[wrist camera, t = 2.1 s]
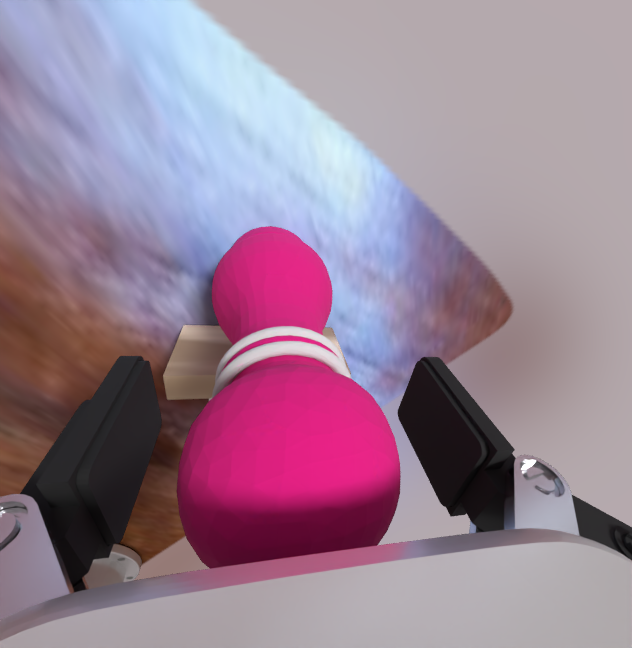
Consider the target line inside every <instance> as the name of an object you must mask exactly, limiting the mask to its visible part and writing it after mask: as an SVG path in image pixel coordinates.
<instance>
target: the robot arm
mask: <svg viewBox="0 0 632 648" xmlns="http://www.w3.org/2000/svg"><path fill="white" fill-rule="evenodd" d="M398 417H399V420H400V422H401V424H402V426H403V428H404V430H405V432H406V434H407V436H408V438H409V440H410V442H411V444H412V446H413V448H414V450H415V452H416V455H417V457H418V459H419V461H420V463H421V465H422V467H423V469H424V471H425V473H426V475H427V477H428V478H429V481H430V483H431V485H432V487H433V489H434V491H435V493H436V495H437V497H438V499H439V501H440V503H441V504H442V505H443V506H445V507H446V508H447V510H448V512H449V514H450V516H458V515H465V514H466V513H467V514H468V516H469V518H470V520H471V521H470V530H469V534H462V535H455V536H447V537H439V538H432V539H423V540H416V541H408V542H400V543H393V544H386V545H379V546H370V547H363V548H356V549H348V550H341V551H334V552H326V553H319V554H312V555H304V556H297V557H290V558H282V559H275V560H268V561H261V562H254V563H247V564H240V565H233V566H226V567H219V568H212V569H205V570H197V571H190V572H185V573H178V574H171V575H165V576H159V577H153V578H146V579H140V580H134V579H135V578H136V577H137V576H138V574H139V571H140V567H141V562H142V561H141V558H140V556H139V555H138V554H137V553H136V552H135V551H133V550H132V549H130V548H127V547H125V546H122V545H119V544H118V543H120V541H121V540H122V538H123V535H124V533H125V530H126V527H127V524H128V521H129V518H130V515H131V512H132V510H133V507H134V504H135V501H136V498H137V495H138V492H139V489H140V486H141V484H142V481H143V478H144V475H145V472H146V469H147V466H148V463H149V461H150V458H151V455H152V452H153V449H154V446H155V443H156V440H157V437H158V435H159V432H160V428H161V414H160V409H159V405H158V400H157V395H156V390H155V386H154V381H153V376H152V371H151V367H150V363H149V361H144V360H143V358H142V357H141V356H121V357H119V358H118V359H117V361H116V362H115V364H114V365H113V367H112V368H111V370H110V371H109V373H108V375H107V376H106V378H105V379H104V381H103V382H102V384H101V385H100V387H99V388H98V390H97V391H96V393H95V394H94V396H93V398H92V399H91V400H86V401H84V402H83V403H82V404H81V405H80V406H79V408H78V409H77V411H76V412H75V414H74V415H73V417H72V418H71V419H70V421H69V422H68V424H67V425H66V427H65V428H64V430H63V431H62V433H61V434H60V436H59V437H58V439H57V440H56V442H55V443H54V445H53V446H52V447H51V449H50V450H49V452H48V453H47V455H46V456H45V458H44V459H43V461H42V462H41V464H40V465H39V467H38V468H37V470H36V471H35V472H34V474H33V475H32V477H31V478H30V480H29V481H28V483H27V484H26V486H25V487H24V489H23V490H22V492H21V493H20V494H11V495H7V496H3V497H0V648H632V527H630V526H628V525H626V524H625V523H623V522H621V521H619V520H617V519H615V518H614V517H612V516H610V515H608V514H606V513H604V512H602V511H601V510H599V509H597V508H595V507H593V506H592V505H590V504H588V503H586V502H584V501H582V500H581V499H579V498H577V497H575V496H573V495H572V494H571V490H570V487H569V485H568V483H567V482H566V480H565V479H564V477H563V476H562V475H561V474H560V473H559V472H558V471H557V470H556V469H555V468H553V467H552V466H551V465H549V464H548V463H546V462H545V461H543V460H541V459H539V458H536V457H534V456H530V455H520V456H518V457H517V458H515V457H514V456H513V454H512V452H513V451H514V448H513V447H512V446H511V445H510V443H509V442H508V441H507V440H506V438H505V437H504V436H503V435H502V434H501V432H500V431H499V430H498V429H497V428H496V426H495V425H494V424H493V423H492V421H491V420H490V419H489V418H488V417H487V415H486V414H485V413H484V412H483V410H482V409H481V408H480V407H479V406H478V404H477V403H476V402H475V401H474V399H473V398H472V397H471V396H470V394H469V393H468V392H467V391H466V390H465V388H464V387H463V386H462V385H461V383H460V382H459V381H458V380H457V378H456V377H455V376H454V375H453V374H452V372H451V371H450V370H449V369H448V368H447V366H446V365H445V364H444V363H443V361H442V360H441V359H440V358H438V357H423V358H422V359H421V360H420V361H418V362H417V363H416V365H415V368H414V370H413V373H412V376H411V378H410V381H409V383H408V386H407V388H406V391H405V393H404V396H403V399H402V401H401V404H400V406H399V409H398ZM133 580H134V581H133Z"/></svg>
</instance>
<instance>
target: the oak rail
mask: <svg viewBox="0 0 632 648" xmlns="http://www.w3.org/2000/svg"><path fill="white" fill-rule="evenodd" d="M322 332H323V336H325V337H326V338H327V339H329V340H330V341H331V342H332V343H333V344H334V345H335V346H336V347H337V348H338V350H339V351H340V353H341V354H342V356H343V353H342V351H341V348H340V346H339V343H338V341H337V339H336V336H335V334H334V331H333V329H332V328H324V329H323V331H322ZM232 346H233V345H232V343H231V342H230V340H229V339H228V338H227V336H226V335H225V333H224V332H223V330H222V329H221V327H220V326H212V325H184V326H183V328H182V331H181V333H180V335H179V338H178V340H177V343H176V345H175V348H174V350H173V352H172V355H171V357H170V360H169V362H168V365H167V367H166V369H165V372H164V374H163V379H164V385H165V390H166V396H167V400H175V399H208V398H212V393H213V389H214V386H215V377H216V371H217V368H218V365H219V363H220V361H221V359H222V358H223V357H224V355H225V354H226V352H227V351H228V350H229V349H230V348H231V347H232ZM343 358H344V356H343ZM344 361H345V364H346V367H347V369H348V370H349V368H348V365H347V363H346V360H345V358H344ZM349 373H350V370H349ZM350 374H351V373H350Z"/></svg>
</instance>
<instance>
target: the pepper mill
mask: <svg viewBox="0 0 632 648" xmlns="http://www.w3.org/2000/svg"><path fill="white" fill-rule="evenodd" d="M212 304H213V308H214V312H215V315H216V317H217V320H218V323H219V325H220V327H221V329H222V330H223V332H224V333H225V335H226V336H227V338H228V339H229V340H230V342H231V343H232V345H233V346H232V347H231V348H230V349H229V350H228V351H227V352H226V354H225V355H224V357H223V358H222V359H221V361H220V363H219V365H218V368H217V371H216V377H215V386H214V389H213V393H212V399H211V400H210V401H209V402H208V403H207V405H206V406H205V407H204V409H203V410H202V411H201V413H200V414H199V415H198V417H197V418H196V419H195V421H194V422H193V424H192V425H191V427H190V430H189V433H188V436H187V439H186V441H185V444H184V448H183V451H182V455H181V459H180V462H179V471H178V482H177V497H178V505H179V513H180V518H181V522H182V525H183V528H184V531H185V535H186V538H187V540H188V541H189V543H190V544H191V546H192V547H193V549H194V550H195V552H196V554H197V555H198V557H199V558H200V560H201V561H202V562H203V563H204V564H205V565H206V566H208V567H209V568H210V569H212V568H219V567H226V566H233V565H240V564H247V563H254V562H261V561H268V560H275V559H282V558H290V557H297V556H304V555H312V554H319V553H326V552H334V551H341V550H348V549H356V548H363V547H370V546H377V545H378V543H379V542H380V541H381V539H382V538H383V536H384V535H385V533H386V532H387V530H388V527H389V525H390V523H391V521H392V519H393V516H394V514H395V511H396V507H397V503H398V499H399V494H400V462H399V455H398V451H397V446H396V442H395V438H394V435H393V433H392V431H391V428H390V426H389V424H388V421H387V419H386V417H385V415H384V413H383V412H382V410H381V408H380V407H379V405H378V404H377V403H376V401H375V400H374V398H373V397H372V396H371V395H370V394H369V393H368V392H367V391H366V390H365V389H363V388H362V387H361V386H360V385H358V384H357V383H356V382H355V381H353V380H352V379H351V376H350V373H349V370H348V369H347V367H346V364H345V361H344V358H343V356H342V354H341V353H340V351H339V350H338V348H337V347H336V346H335V345H334V344H333V343H332V342H331V341H330V340H329V339H327V338H326V337H325V336H323V332H322V331H323V329H324V327H325V325H326V322H327V320H328V317H329V314H330V311H331V305H332V285H331V281H330V278H329V275H328V272H327V269H326V267H325V265H324V263H323V261H322V259H321V258H320V257H319V256H318V254H317V253H316V252H315V251H314V250H313V249H312V248H311V247H309V246H308V245H306V244H305V243H304V242H303V241H302V240H301V239H300V238H299V237H297V236H296V235H295V234H293V233H292V232H290V231H288V230H285V229H282V228H278V227H271V226H270V227H260V228H256V229H253V230H251V231H249V232H247V233H245V234H244V235H243V236H241V237H240V238H239V239H238V240H237V241H236V242H235V243H234V245H233V247H232V248H231V249H230V250H229V251H228V252H227V253H226V254H225V255H224V256H223V258H222V259H221V260H220V262H219V264H218V266H217V268H216V270H215V274H214V278H213V284H212Z"/></svg>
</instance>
